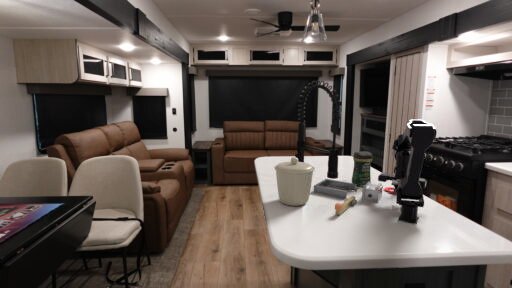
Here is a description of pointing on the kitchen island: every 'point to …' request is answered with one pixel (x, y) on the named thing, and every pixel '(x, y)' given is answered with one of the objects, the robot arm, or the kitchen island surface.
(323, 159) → the kitchen island surface
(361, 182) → the coffee jar
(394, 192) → the tow hook
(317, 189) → the dock
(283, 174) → the canister
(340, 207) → the lock bar
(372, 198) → the block
